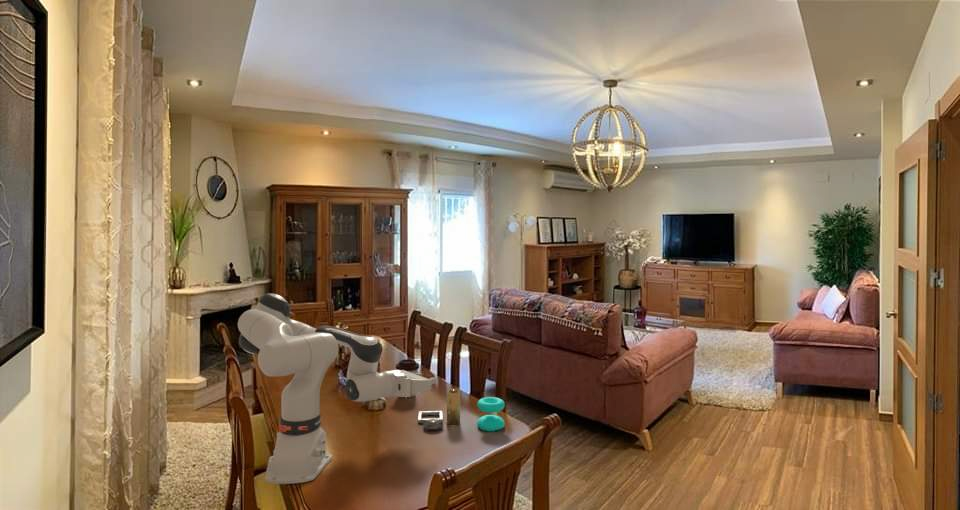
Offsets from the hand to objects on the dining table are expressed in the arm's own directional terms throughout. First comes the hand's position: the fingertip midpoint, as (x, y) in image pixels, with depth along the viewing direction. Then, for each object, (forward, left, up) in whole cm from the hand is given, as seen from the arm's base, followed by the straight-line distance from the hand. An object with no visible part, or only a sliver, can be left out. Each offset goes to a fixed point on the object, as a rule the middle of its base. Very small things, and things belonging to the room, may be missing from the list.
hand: (428, 377), depth 187 cm
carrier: (+4, -2, -19) cm, 19 cm away
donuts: (+1, -23, -19) cm, 30 cm away
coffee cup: (+39, +9, -19) cm, 44 cm away
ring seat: (+10, -1, -19) cm, 21 cm away
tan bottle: (+5, -9, -19) cm, 22 cm away
